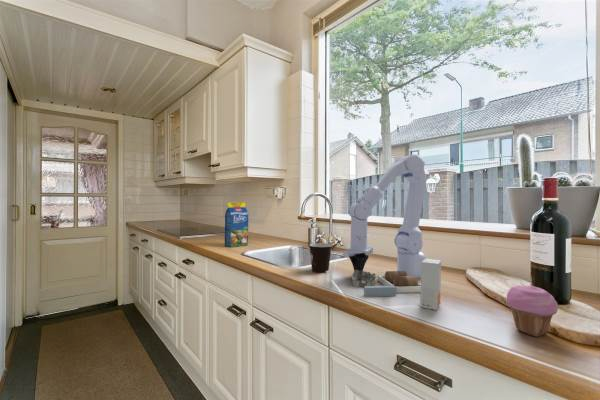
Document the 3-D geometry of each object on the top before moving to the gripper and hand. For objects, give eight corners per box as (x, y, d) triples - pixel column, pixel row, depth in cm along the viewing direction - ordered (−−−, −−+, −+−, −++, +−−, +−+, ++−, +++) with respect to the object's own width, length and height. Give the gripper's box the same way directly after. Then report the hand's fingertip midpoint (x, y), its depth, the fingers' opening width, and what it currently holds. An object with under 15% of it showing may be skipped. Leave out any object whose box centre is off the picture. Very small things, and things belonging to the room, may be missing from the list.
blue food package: (224, 246, 172) (224, 202, 172) (241, 244, 181) (242, 202, 181) (230, 247, 168) (231, 202, 168) (248, 245, 177) (248, 202, 176)
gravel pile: (373, 290, 93) (374, 277, 93) (349, 287, 96) (349, 274, 96) (377, 281, 103) (377, 269, 103) (355, 279, 106) (355, 267, 106)
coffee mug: (330, 274, 112) (330, 247, 112) (307, 272, 114) (307, 246, 113) (333, 267, 123) (333, 242, 123) (312, 266, 125) (312, 242, 125)
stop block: (393, 295, 88) (393, 285, 88) (396, 297, 86) (396, 287, 86) (363, 296, 87) (364, 286, 87) (365, 298, 85) (365, 287, 85)
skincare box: (437, 310, 77) (438, 264, 77) (419, 307, 79) (420, 261, 79) (440, 303, 82) (441, 259, 82) (424, 300, 84) (424, 258, 84)
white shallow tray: (404, 281, 103) (404, 275, 103) (425, 293, 90) (425, 286, 90) (377, 282, 102) (377, 275, 102) (394, 294, 89) (394, 287, 89)
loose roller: (395, 291, 93) (400, 287, 90) (392, 278, 95) (397, 274, 92) (413, 290, 94) (419, 286, 90) (410, 278, 96) (415, 273, 93)
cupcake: (542, 345, 59) (543, 294, 59) (497, 327, 67) (497, 282, 67) (565, 336, 63) (566, 289, 63) (520, 321, 71) (521, 278, 71)
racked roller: (400, 275, 102) (404, 268, 99) (404, 285, 99) (408, 279, 96) (383, 275, 101) (387, 268, 98) (387, 286, 98) (391, 279, 96)
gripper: (354, 239, 99) (354, 281, 99) (380, 236, 108) (379, 274, 108) (338, 237, 104) (338, 276, 104) (364, 234, 113) (363, 270, 113)
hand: (358, 275), depth 106 cm, fingers closed
